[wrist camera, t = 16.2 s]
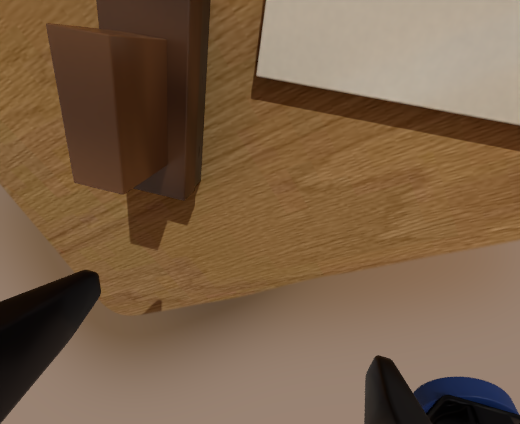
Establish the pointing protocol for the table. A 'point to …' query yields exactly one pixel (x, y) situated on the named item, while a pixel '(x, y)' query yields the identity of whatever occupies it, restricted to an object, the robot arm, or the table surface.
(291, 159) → the table surface
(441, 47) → the tile
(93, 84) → the brown stepped block
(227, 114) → the table surface
